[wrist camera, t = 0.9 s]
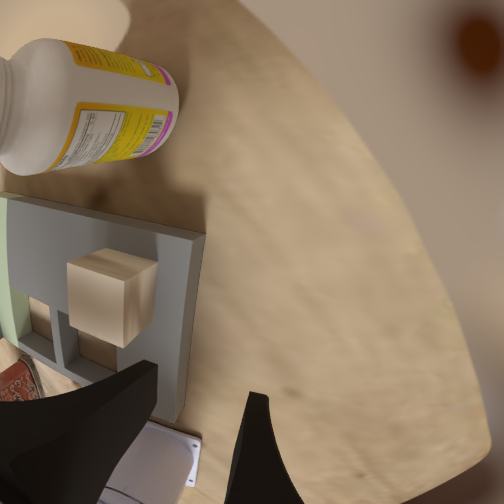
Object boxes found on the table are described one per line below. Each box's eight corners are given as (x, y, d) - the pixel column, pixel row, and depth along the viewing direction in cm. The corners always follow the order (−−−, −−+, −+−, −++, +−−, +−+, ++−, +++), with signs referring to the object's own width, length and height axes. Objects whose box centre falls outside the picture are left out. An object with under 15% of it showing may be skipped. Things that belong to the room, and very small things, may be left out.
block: (153, 319, 19) (123, 348, 15) (104, 302, 19) (69, 325, 16) (158, 261, 18) (124, 281, 14) (106, 247, 18) (67, 262, 15)
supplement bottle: (109, 75, 18) (-48, 64, 6) (184, 56, 16) (7, -1, 4) (108, 161, 20) (-52, 195, 8) (183, 156, 18) (-11, 186, 7)
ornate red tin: (18, 351, 27) (-37, 389, 17) (36, 361, 26) (-22, 404, 17) (32, 400, 29) (-12, 439, 19) (50, 411, 28) (5, 454, 18)
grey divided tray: (184, 405, 23) (167, 436, 20) (12, 325, 26) (-11, 339, 22) (205, 234, 20) (183, 245, 16) (5, 191, 22) (-25, 195, 18)
